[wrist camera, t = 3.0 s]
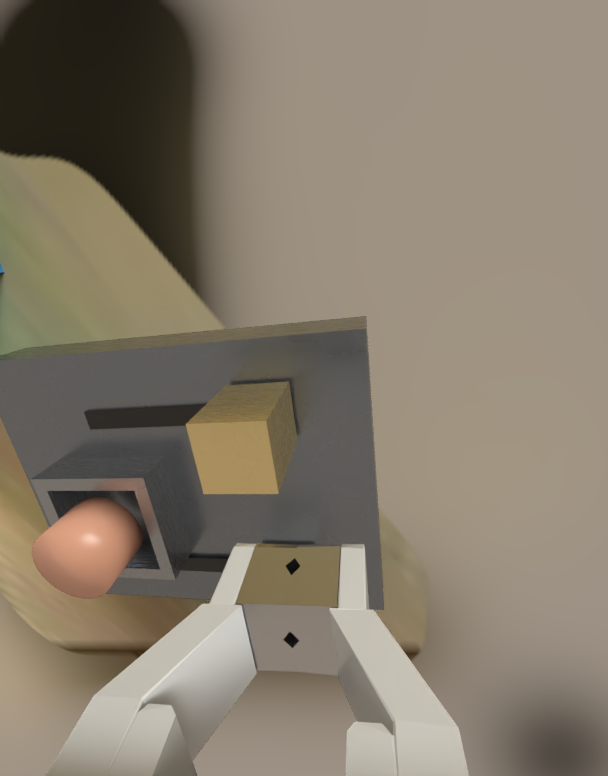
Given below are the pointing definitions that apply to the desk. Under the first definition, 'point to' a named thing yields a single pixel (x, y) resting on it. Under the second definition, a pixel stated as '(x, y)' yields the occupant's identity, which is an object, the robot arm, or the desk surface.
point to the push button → (88, 547)
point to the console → (174, 452)
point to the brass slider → (244, 439)
